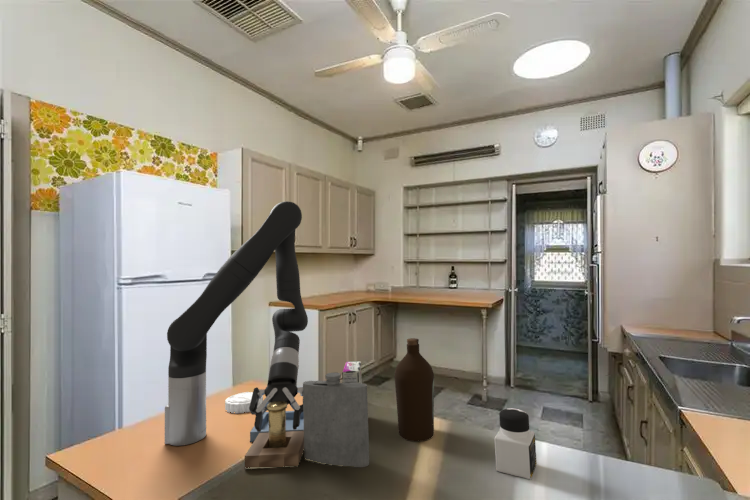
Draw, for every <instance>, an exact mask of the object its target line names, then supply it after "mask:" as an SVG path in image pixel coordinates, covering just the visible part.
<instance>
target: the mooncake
mask: <svg viewBox="0 0 750 500" xmlns="http://www.w3.org/2000/svg"><path fill="white" fill-rule="evenodd" d="M252 395H253V392H252V391H250V392H249V391H245V392H239V393H236V394H232V395H231V396H228V397H227V398H226V399H225V400H224V402H225V403H224V411H225V410H227V411H226V412H227V413H230V412H231V413H230V414H245V413H251V412H250V410H249V407H250V403H251V399H252ZM263 400H264V395H263V396H262V397H261V399H259V401H258V406H257V408H258V407H259V406H260V405H261V404H262V401H263ZM234 412H235V413H234ZM244 412H245V413H244Z"/></svg>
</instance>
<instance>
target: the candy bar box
mask: <svg viewBox="0 0 750 500" xmlns="http://www.w3.org/2000/svg"><path fill="white" fill-rule="evenodd" d="M362 378H363V377H362V361H359V360H358V361H345V364H344V367H343V369H342V371H341V380H342V383H363V380H362Z"/></svg>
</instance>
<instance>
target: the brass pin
mask: <svg viewBox="0 0 750 500" xmlns="http://www.w3.org/2000/svg"><path fill="white" fill-rule="evenodd" d="M286 409H288V405H287V402H285V401H275V402H271V403H269V404H268V405H267V412H269V448H284V447H286V411H287V410H286Z"/></svg>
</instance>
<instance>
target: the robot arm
mask: <svg viewBox="0 0 750 500" xmlns="http://www.w3.org/2000/svg"><path fill="white" fill-rule="evenodd" d="M302 219H303V214H302V210H301V208H300V206H299V205H298V204H297V203H295V202H293V201H288V200H287V201H281V202H278V203H277V204H275V205H274V206H273V208H272V209H271V210H270V212H269V215H268V216H267V217H266V219H265V220H264V222H263V223H262V224H261V226H260V227H259V228H258V229H257V230H256V232H255V233H253V235H252V236H250V237H249V239H247V240H246V241H245V242H244V243H242V245H241V246H239V248H237V249H236V250H235V251H234V252H233V254H231V255H230V256H229V258H228V259H227V260H226V261H225V262H224V263H223V264H222V265H221V266H220V268H219V269H218V270H217V272H216V273H215V274H214V276H213V277H212V278H211V280H210V281H209V283H208V284H207V286H206V287H205V288H204V290H203V291H202V293H201V294H200V296H199V297H198V298H197V299H196V300H195V301H194V302H193V303H192V304H191V305H190V306H189V307H188V308H187V309H186V310H185V311H184V312H182V314H181V315H179V317H177V318H176V319H174V320H173V321H172V322H171V324H170V325H169V327H168V329H167V333H166V338H167V339H166V340H167V343H168V345H169V346H170V349H169V351H170V352H169V363H168V374H167V375H168V378H167V379H168V383H167V384H168V386H167V387H168V389H167V390H168V393H167V395H168V397H167V398H168V399H167V403H168V404H166V405H165V407H164V444H166V445H170V446H177V447H178V446H186V445H190V444H194V443H197V442H199V441H201V440H202V439H204V438H205V437H206V435H207V358H208V354H207V353H208V352H207V349H208V348H207V347H208V342H207V340H208V339H207V338H208V332H210V331H209V330H211V328H212V327H213V325H214V324H215V322H216V321H217V319H218V318H219V317H220V316H221V315H222V313H224V311H225V310H227V308H228V307H229V306H230V305H231V304H233V302H234V301H236V300H237V299H238V298H239V296H240V295H241V294H243V293H244V292H245V290H246V289H247V288H248V287H249V286H250V285H251V283H252V282H253V281H254V280H255V279H256V278H257V276H258V275H259V273H260V272H261V271H262V269H263V268H264V267H265V265H266V264H267V262H268V261H269V260H270V258H271V257H272V255H273V254H274V253H275V279H276V281H275V282H276V297H277V299H278V300H279V301H281V302H287V303H290V304H292V306H293V307H294V308H293V307H292V308H281V309H280V308H279V309H277V310H276V311H274V312H273V315H272V319H271V320H272V327H273V330H274V346H273V352H272V355H271V358H270V359H271V360H270V365H269V373H268V377H267V384H266V387H265V388H264V389H263V388H261V389H259V387H254V388H253V390H252V391H253V395H252V399H251V403H250V407H249V410H250V412H249V413H250V414H251V415H252V416H254V415H255V417H254V418H255V419H254V423H253V425H254V426H255V429H257V432H261V427H262V421H263V414H264V413H265V412H268V410H267V405H268V404H269V403H271V402H275V401H285V402H287V406H288V405H289V406H290V407H291V409H292V410H293V411H294V417H293V430H295V429H297V427H299V425H300V414H301V413H302V412H303V403H302V404H299V403H298V402H297V400H296V399H295V397H296V396H297V395H298V393H299V396H301V397H303V386H299V387H298V386H297V385H298V377H299V376H298V373H299V367H300V365H299V364H300V363H299V362H300V357H299V356H300V355H299V353H300V352H299V350H300V345H301V344H300V341H301V340H300V337H299V335H298V334H296V333H295V332H301V331H304V330H306V328H307V327H308V323H309V322H308V321H309V320H308V319H309V318H308V315H307V311H306V308H305V306H304V303H303V298H302V294H301V281H300V279H301V278H300V270H299V264H298V260H297V253H296V245H295V244H296V242H295V241H296V240H295V239H296V238H295V237H296V230H297V228H299V226H300V225H301V223H302ZM262 396H263V397H264V396H265V398H263V401H262V404H261V405H260V406H259V407H258V408H257V406H258V401H259V399H261V397H262ZM254 426H253V427H254Z"/></svg>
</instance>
